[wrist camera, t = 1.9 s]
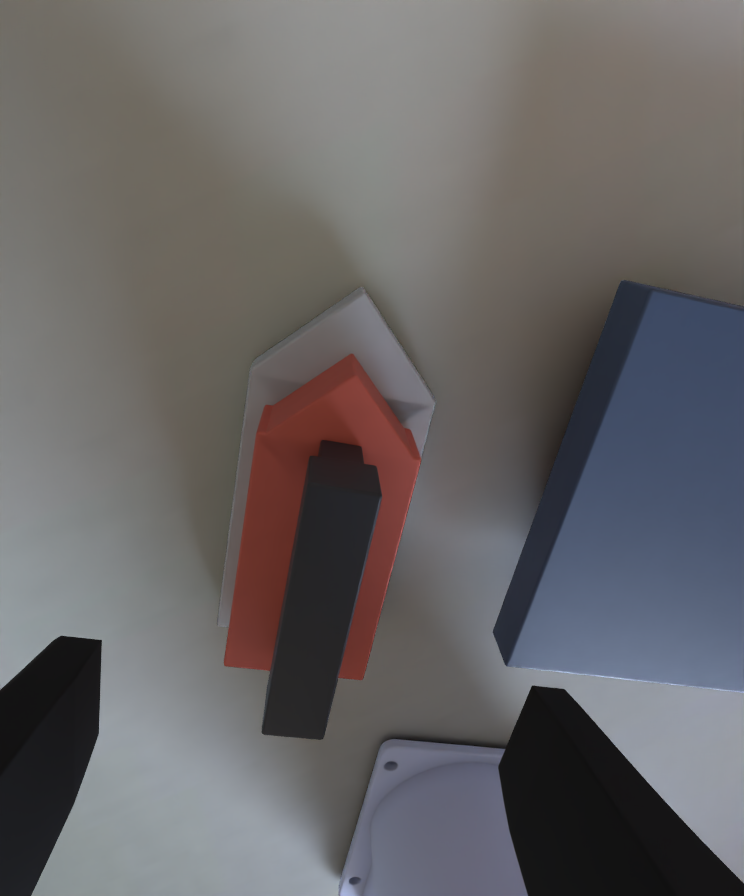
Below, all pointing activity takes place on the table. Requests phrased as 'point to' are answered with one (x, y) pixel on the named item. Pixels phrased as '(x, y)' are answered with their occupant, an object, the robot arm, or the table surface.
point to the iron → (320, 507)
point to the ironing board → (643, 507)
